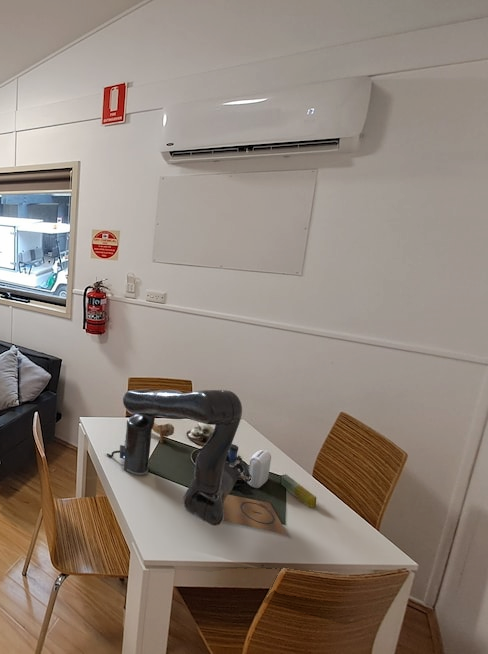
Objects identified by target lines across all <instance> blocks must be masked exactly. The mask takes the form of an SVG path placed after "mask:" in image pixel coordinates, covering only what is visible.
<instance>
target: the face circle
mask: <svg viewBox="0 0 488 654" xmlns="http://www.w3.org/2000/svg"><path fill="white" fill-rule="evenodd" d="M244 503H253V502H243V503H242V504H241V506H240V508H241V510H242V512H243V513H244V511H243V509H242V505H243V504H244ZM253 504H257V503H253ZM257 505H259V504H257ZM259 506H261V505H259ZM261 507H263V506H261ZM263 508H265V507H263ZM265 509H266V508H265ZM266 510H267V511H269V510H268V509H266ZM269 512H270V511H269ZM270 513H271V512H270ZM244 514H245V515H246V516H248V515H247V514H246V513H244ZM271 515H272V517H273V521H272V522H269V523H263V522H258V521H256V520H254V519H252V518H250V517H249V516H248V517H249V518H250V519H252V520H254V521H256V522H258V523H263V524H271V523H274V520H275V518H274V516H273V514H272V513H271Z"/></svg>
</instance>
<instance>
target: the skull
mask: <svg viewBox="0 0 488 654" xmlns="http://www.w3.org/2000/svg"><path fill="white" fill-rule="evenodd" d="M213 431H214V427H212V425H209V424H204V423H201V422H198V423H197V424H196V426H194V428H192V429H190V430H187V431H186V432H185V433H186V434H185V435H186V436H187V438H188V439H189V440H190V441H192V442H194V443H195V444H197V445H199V446H202V447H203V446H204V445H205V443H206V442H207V441H208V439H209V438H210V436H211V435H212V433H213Z"/></svg>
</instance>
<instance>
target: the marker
mask: <svg viewBox="0 0 488 654" xmlns="http://www.w3.org/2000/svg"><path fill="white" fill-rule="evenodd" d="M238 452H239V446H238V445H236V444H234V443H232V444H231V447H230V449H229V455H228V463H230V464H231V463H232V462H233V461H234V462H235V461H236V459H237V456H238Z"/></svg>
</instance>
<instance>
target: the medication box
mask: <svg viewBox="0 0 488 654" xmlns="http://www.w3.org/2000/svg"><path fill="white" fill-rule="evenodd" d="M280 485H281V486H283V487H284V488H285V489H286V490H287V491H289V492H290V493H291V494H292V495H293V496H294V497H296V498H297V499H298V500H299V501H300V502H302V503H303V504H304V505H306V506H307V507H308V508H309V509H314V508H316V507H317V498H318V497H317V496H316V495H314V494H313V493H312V492H310V491H309V490H308V489H306V488H305V487H304V486H303V485H301V484H300V483H298V482H297V481H296V480H295V479H293V478H291V477H290V476H289V475H288V474H281V475H280Z"/></svg>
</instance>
